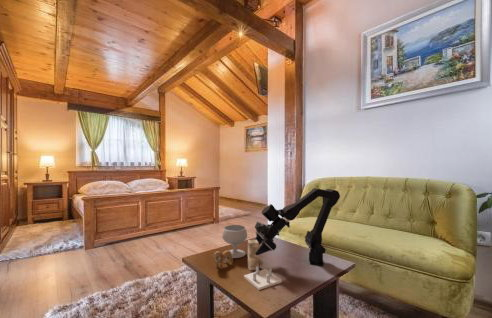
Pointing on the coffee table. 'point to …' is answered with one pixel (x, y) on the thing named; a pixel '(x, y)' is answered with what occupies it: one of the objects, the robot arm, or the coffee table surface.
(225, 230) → the chalice
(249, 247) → the birch post
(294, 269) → the coffee table surface
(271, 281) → the peg stand
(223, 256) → the lion figurine
